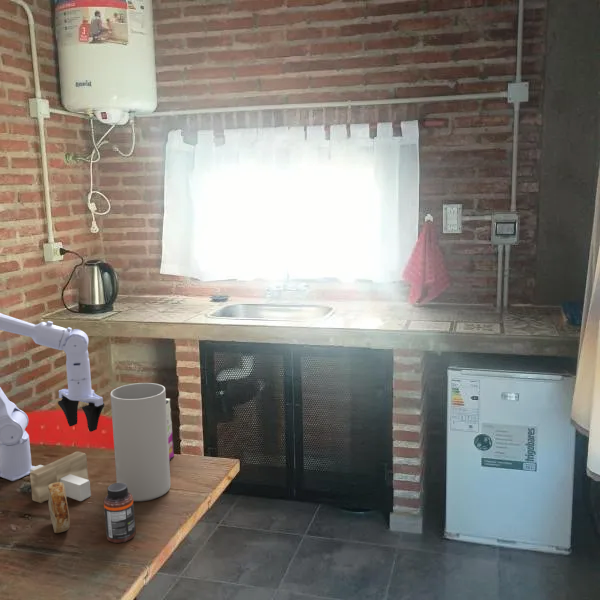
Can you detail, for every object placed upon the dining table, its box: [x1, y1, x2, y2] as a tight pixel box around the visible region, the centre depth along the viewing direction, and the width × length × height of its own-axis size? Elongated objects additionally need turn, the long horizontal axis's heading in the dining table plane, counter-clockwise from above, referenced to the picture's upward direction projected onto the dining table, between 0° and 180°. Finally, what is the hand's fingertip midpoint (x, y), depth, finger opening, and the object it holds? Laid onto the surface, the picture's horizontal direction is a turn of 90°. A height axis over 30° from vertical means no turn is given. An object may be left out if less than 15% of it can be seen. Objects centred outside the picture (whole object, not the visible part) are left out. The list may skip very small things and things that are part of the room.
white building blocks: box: [30, 464, 92, 502], centre depth 161 cm, size 18×3×4 cm, turn 58°
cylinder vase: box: [110, 382, 172, 502], centre depth 159 cm, size 12×12×25 cm
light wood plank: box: [29, 450, 89, 504], centre depth 161 cm, size 3×14×7 cm, turn 149°
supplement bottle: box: [103, 482, 136, 544], centre depth 139 cm, size 6×6×11 cm
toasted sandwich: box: [47, 482, 71, 534], centre depth 143 cm, size 10×4×10 cm, turn 25°
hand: (82, 427), depth 174 cm, fingers open, 7 cm apart
